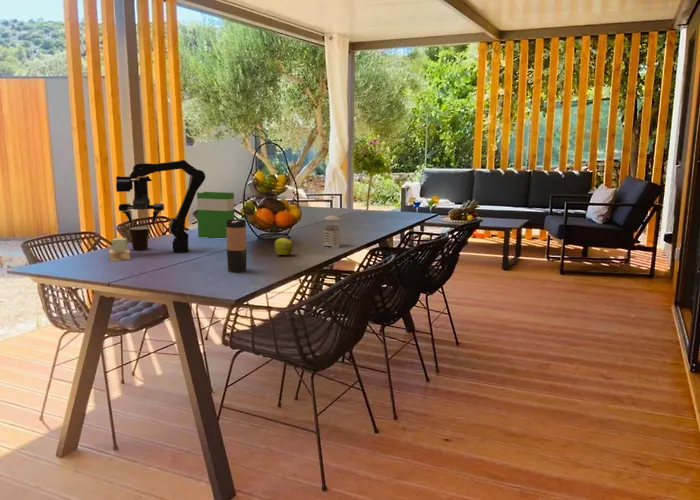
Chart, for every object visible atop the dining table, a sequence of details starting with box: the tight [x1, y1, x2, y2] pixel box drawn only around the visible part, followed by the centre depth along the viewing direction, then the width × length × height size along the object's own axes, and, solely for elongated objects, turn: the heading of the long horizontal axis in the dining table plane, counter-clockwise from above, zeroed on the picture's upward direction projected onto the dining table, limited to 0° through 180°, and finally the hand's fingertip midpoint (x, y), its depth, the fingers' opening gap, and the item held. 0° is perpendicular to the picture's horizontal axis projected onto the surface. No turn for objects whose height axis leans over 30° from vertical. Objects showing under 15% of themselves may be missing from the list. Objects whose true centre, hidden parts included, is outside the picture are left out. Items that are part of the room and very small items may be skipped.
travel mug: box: [226, 218, 248, 273], centre depth 234 cm, size 8×8×20 cm
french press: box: [323, 195, 341, 246], centre depth 294 cm, size 10×12×25 cm
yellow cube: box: [111, 237, 128, 252], centre depth 256 cm, size 5×5×5 cm
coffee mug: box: [129, 226, 150, 252], centre depth 281 cm, size 12×9×10 cm
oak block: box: [108, 248, 131, 262], centre depth 256 cm, size 8×8×4 cm
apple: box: [273, 237, 294, 256], centre depth 269 cm, size 8×9×8 cm
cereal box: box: [196, 191, 235, 239], centre depth 317 cm, size 18×7×24 cm, turn 75°
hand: (142, 226), depth 267 cm, fingers open, 9 cm apart
